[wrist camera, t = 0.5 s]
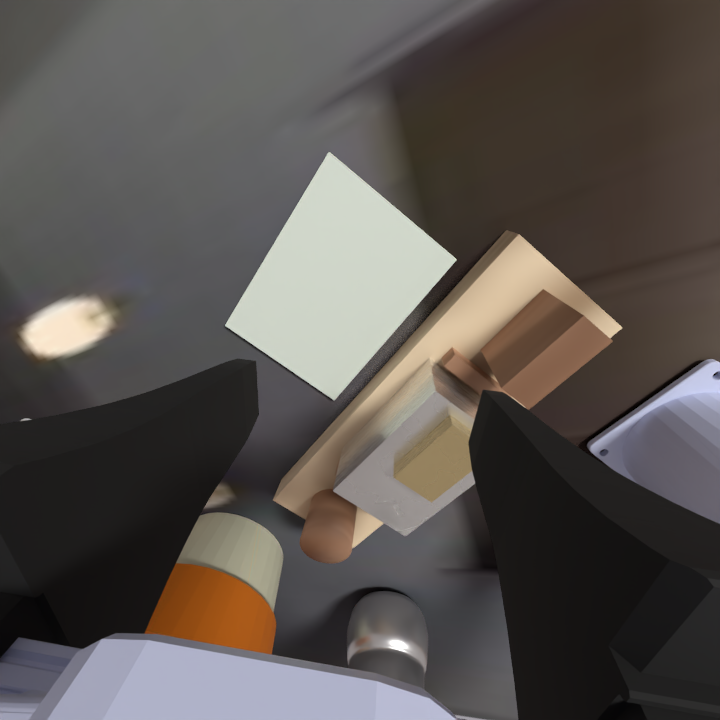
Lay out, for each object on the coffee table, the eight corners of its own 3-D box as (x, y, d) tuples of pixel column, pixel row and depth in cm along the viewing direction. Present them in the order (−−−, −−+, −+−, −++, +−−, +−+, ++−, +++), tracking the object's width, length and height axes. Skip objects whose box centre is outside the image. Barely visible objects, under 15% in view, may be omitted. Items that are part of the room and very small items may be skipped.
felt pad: (455, 258, 18) (456, 259, 18) (335, 397, 22) (334, 400, 22) (330, 152, 17) (328, 151, 16) (227, 323, 21) (224, 325, 21)
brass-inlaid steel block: (497, 409, 19) (522, 463, 15) (404, 488, 22) (405, 549, 19) (429, 357, 18) (437, 400, 14) (342, 447, 22) (329, 502, 18)
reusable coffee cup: (176, 584, 33) (24, 849, 20) (149, 487, 28) (-85, 761, 14) (304, 602, 32) (237, 892, 19) (303, 506, 27) (207, 817, 14)
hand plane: (600, 314, 18) (683, 363, 13) (356, 524, 27) (345, 606, 22) (506, 230, 17) (555, 245, 12) (281, 479, 26) (250, 553, 21)
